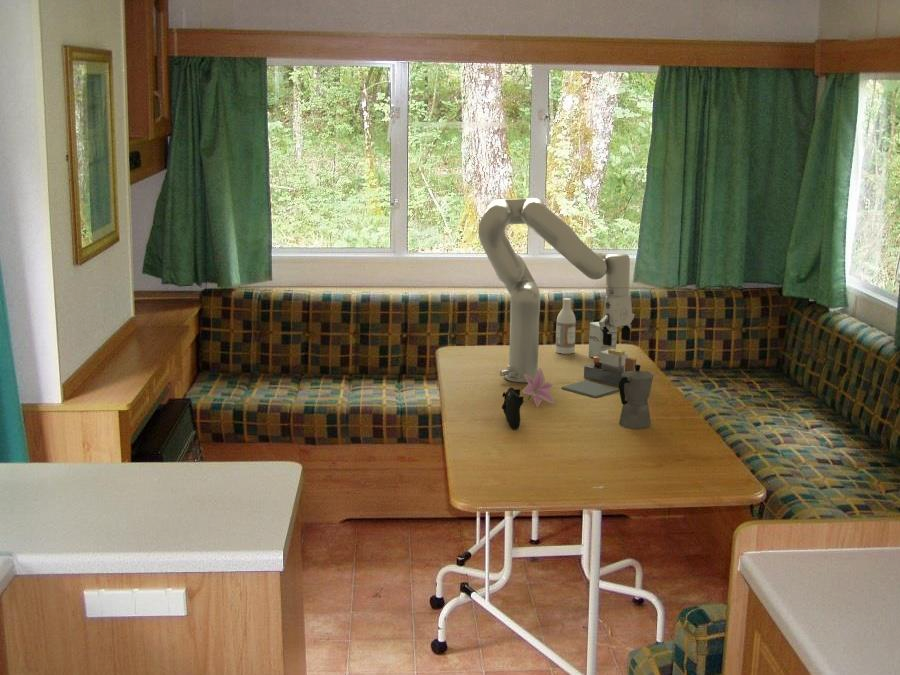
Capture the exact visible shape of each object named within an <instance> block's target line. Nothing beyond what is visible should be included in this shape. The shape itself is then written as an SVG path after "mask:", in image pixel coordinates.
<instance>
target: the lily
mask: <svg viewBox="0 0 900 675" xmlns="http://www.w3.org/2000/svg"><path fill="white" fill-rule="evenodd" d="M524 376H525V378H526V380H527V383H528V384H527V385H525V387H524V388H523V389H522V390H521V391H522V393H523V394H525V395H529V397H528V398H527V400H528V401H529V400H530V399H531V397H532V396H533V399H534V403H535V406H536V407H537V408H538V407H539V406H540V404H541V402H542V401H543V400H544V401H546V402H548V403H550V404H552V405H555V403H556V402H555V399H554V398H553V395H552V394H551V391H550V390H551V389H552V388H553V386H554V384H552V383H550V382H546V380H545V374H544V371H543V370H542V368H541V367H539V368H538V371H537V373H536V375H535V377H534V378H533V377H531V376H529V375H527V374H524Z"/></svg>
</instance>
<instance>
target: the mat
mask: <svg viewBox="0 0 900 675" xmlns="http://www.w3.org/2000/svg"><path fill="white" fill-rule="evenodd" d="M561 390H566V391H569V392H573V393H577V394H580V395H583V396H587V397H590V398H594V399H598V398H599V397H603V396H606V395H610V394H613V393H616V392H620V391H619V388H617V387H612V386H609V385H605V384H600V383H599V382H598V383H597V382H593V381H589V380H586V379H585V380H582V381H579V382H578V381H577V382H575V383H570V384H568V385H567V384H566V385H563V386H561Z"/></svg>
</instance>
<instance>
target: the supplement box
mask: <svg viewBox="0 0 900 675" xmlns="http://www.w3.org/2000/svg"><path fill="white" fill-rule="evenodd" d="M607 329H609V327H607ZM610 334H612V345H611V346H608V345H603V333H602V330H601V329H600V325H599V321H593V322H590V323H589V336H588V339H589V340H588V357H590V358H592V357H593V358H592V359H594V356H600V352H601V351H605V350H609V349H617V342H618V341H617V336H618V328H614V327H613V329H612V331H611V333H610Z"/></svg>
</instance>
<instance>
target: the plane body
mask: <svg viewBox="0 0 900 675" xmlns="http://www.w3.org/2000/svg"><path fill="white" fill-rule="evenodd" d="M592 359H593V363H590V364H587V365H584V366H583V368H584V369H583V379H587V380H591V379H592V381H597V382H598V383H599V382H600V383H603V384H607V385H611V386H615V387H618V388H619V382H620V380H621V374H622V373H623V372H627V371H636V369H635V365H637V359H636V358H632V357H629V356H628V358H625V365H624V366H620V367H616V366H612V365H608V364H604V363H600V362H599V359H600V356H594V358H592Z"/></svg>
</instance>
